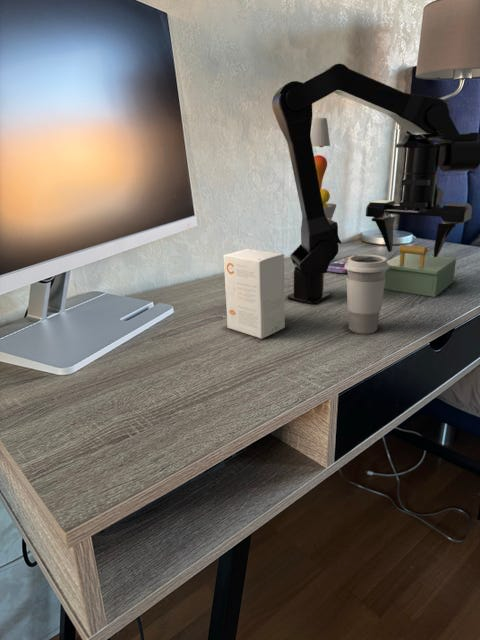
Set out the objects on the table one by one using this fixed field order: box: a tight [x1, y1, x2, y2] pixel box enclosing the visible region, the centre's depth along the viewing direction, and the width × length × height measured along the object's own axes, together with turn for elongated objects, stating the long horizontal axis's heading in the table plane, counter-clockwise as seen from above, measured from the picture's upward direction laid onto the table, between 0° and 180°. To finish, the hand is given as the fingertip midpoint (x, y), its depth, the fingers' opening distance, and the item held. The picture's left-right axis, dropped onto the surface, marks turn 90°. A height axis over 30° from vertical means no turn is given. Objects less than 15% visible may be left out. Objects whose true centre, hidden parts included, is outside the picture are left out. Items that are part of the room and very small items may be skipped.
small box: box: [223, 248, 286, 339], centre depth 74 cm, size 8×6×13 cm
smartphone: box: [327, 255, 351, 274], centre depth 113 cm, size 1×7×15 cm
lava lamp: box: [311, 117, 337, 263], centre depth 111 cm, size 9×9×35 cm
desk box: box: [384, 260, 457, 298], centre depth 95 cm, size 12×11×5 cm
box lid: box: [387, 244, 457, 275], centre depth 93 cm, size 13×11×5 cm
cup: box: [345, 253, 389, 335], centre depth 73 cm, size 7×7×12 cm
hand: (412, 254), depth 90 cm, fingers open, 9 cm apart
